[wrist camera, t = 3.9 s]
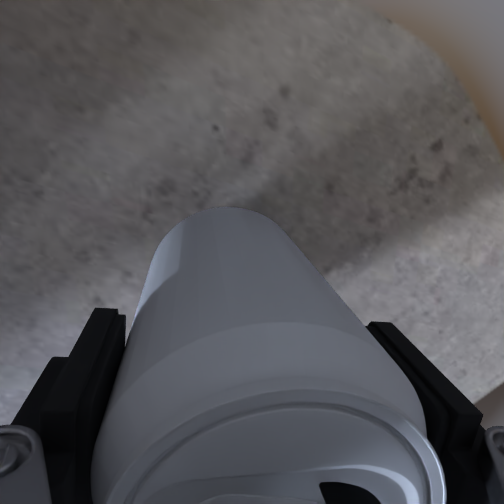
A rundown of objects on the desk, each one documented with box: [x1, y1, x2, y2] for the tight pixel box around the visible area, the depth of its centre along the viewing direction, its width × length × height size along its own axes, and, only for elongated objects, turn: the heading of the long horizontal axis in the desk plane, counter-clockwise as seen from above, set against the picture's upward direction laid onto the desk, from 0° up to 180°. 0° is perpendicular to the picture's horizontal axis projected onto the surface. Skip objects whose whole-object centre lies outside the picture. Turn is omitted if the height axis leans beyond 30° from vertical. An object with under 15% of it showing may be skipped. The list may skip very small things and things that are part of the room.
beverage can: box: [90, 207, 447, 504], centre depth 12 cm, size 6×6×12 cm
